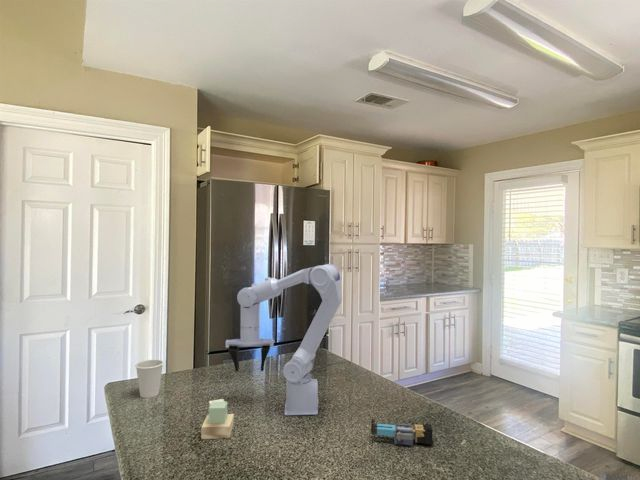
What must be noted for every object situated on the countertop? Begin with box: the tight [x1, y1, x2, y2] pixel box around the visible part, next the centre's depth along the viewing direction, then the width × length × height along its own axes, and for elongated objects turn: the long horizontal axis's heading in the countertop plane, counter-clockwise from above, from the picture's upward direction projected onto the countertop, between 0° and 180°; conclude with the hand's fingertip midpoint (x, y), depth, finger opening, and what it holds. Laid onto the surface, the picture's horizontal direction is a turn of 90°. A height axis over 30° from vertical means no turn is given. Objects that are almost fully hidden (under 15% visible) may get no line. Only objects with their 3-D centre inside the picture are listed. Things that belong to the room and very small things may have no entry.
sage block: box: [208, 401, 229, 424], centre depth 100 cm, size 4×4×4 cm
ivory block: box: [208, 398, 226, 408], centre depth 109 cm, size 4×4×4 cm
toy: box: [370, 418, 434, 447], centre depth 96 cm, size 6×4×15 cm
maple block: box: [200, 413, 235, 440], centre depth 100 cm, size 7×7×3 cm
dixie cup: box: [135, 359, 165, 399], centre depth 124 cm, size 8×8×10 cm
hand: (249, 370), depth 119 cm, fingers open, 7 cm apart
